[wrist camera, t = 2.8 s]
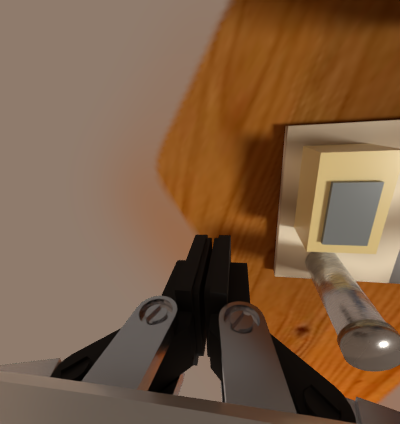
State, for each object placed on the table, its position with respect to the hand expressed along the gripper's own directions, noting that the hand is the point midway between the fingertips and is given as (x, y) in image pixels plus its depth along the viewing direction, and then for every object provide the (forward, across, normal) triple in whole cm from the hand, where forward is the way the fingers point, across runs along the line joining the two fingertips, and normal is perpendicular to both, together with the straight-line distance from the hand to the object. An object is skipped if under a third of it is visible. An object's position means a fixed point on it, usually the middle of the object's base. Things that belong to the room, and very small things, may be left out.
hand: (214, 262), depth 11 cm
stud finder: (+10, -8, -1) cm, 13 cm away
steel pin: (+10, -9, +6) cm, 15 cm away
